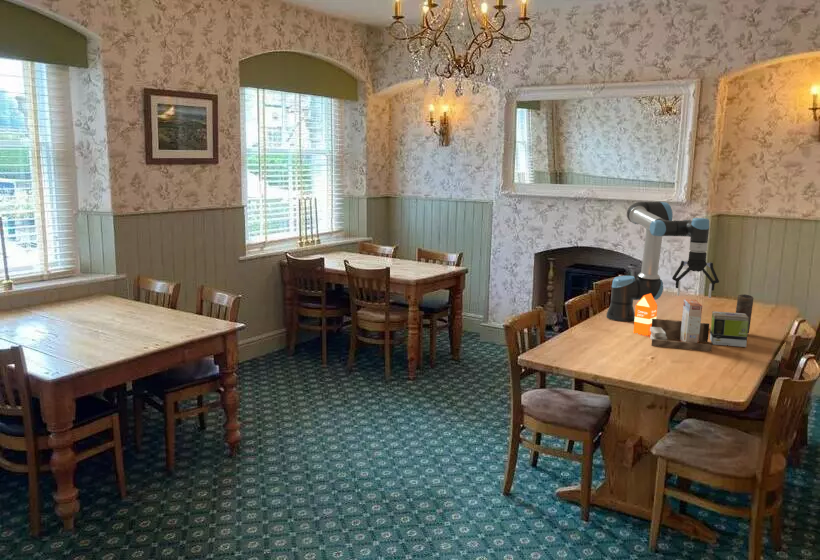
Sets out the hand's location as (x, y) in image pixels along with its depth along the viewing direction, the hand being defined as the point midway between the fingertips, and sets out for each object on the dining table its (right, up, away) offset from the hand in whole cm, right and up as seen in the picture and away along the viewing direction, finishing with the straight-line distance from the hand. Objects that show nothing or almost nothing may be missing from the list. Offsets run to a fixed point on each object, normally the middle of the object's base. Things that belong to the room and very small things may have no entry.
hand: (693, 296), depth 316 cm
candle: (+35, -20, +26) cm, 48 cm away
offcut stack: (-14, -22, +9) cm, 28 cm away
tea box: (+19, -23, +8) cm, 31 cm away
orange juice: (-15, -19, +25) cm, 35 cm away
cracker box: (0, -23, +5) cm, 24 cm away
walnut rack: (-4, -23, +6) cm, 24 cm away
